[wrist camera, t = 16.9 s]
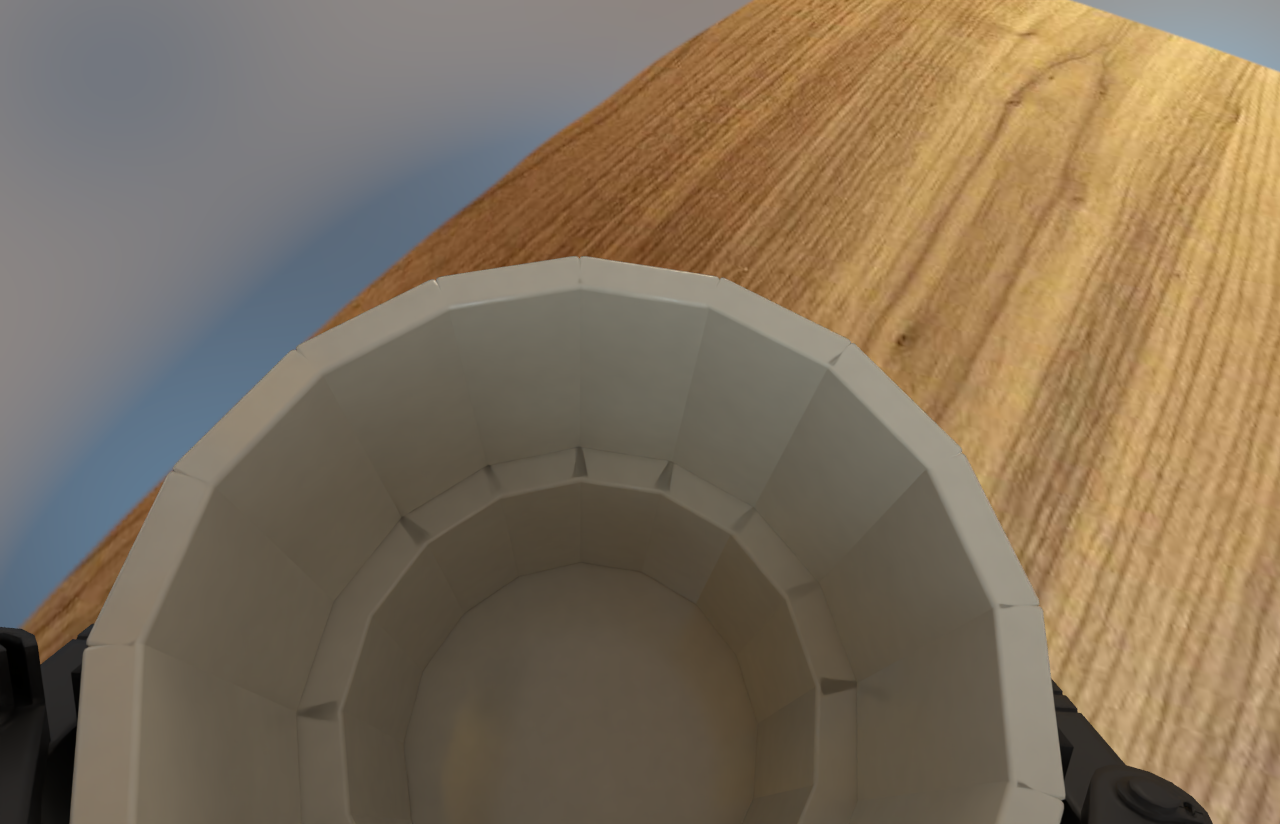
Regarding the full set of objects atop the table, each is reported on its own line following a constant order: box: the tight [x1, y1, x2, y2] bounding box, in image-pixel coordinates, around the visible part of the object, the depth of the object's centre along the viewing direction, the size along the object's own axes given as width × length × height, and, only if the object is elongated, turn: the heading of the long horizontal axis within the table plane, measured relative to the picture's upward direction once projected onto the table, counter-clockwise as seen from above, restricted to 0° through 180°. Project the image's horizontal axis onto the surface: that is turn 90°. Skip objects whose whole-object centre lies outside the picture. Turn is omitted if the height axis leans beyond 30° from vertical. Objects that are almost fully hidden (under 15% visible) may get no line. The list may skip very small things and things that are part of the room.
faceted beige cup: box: [69, 256, 1066, 824], centre depth 13 cm, size 10×10×11 cm
